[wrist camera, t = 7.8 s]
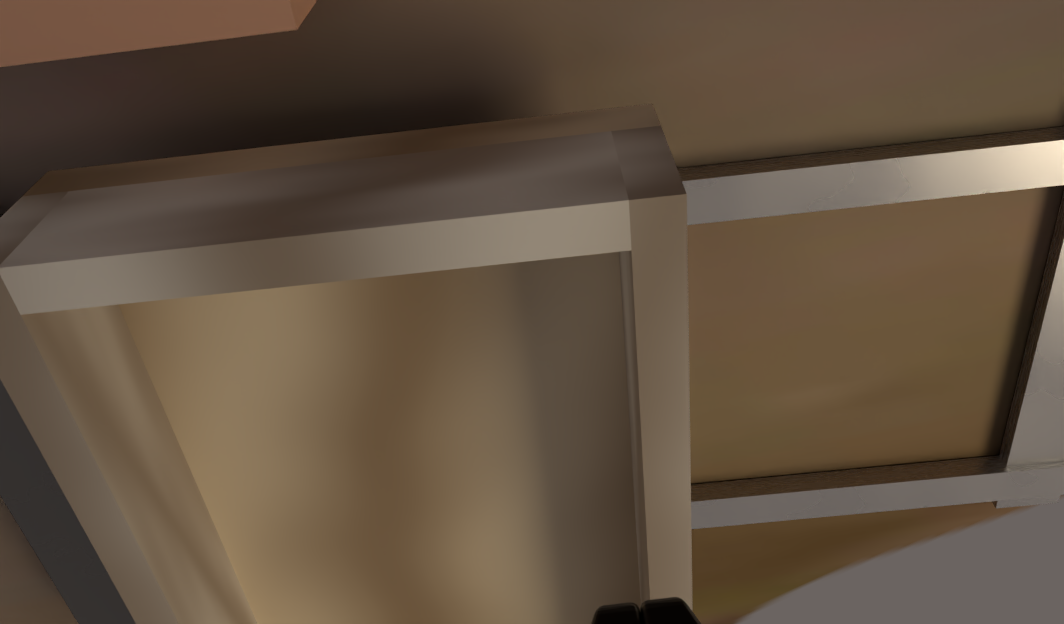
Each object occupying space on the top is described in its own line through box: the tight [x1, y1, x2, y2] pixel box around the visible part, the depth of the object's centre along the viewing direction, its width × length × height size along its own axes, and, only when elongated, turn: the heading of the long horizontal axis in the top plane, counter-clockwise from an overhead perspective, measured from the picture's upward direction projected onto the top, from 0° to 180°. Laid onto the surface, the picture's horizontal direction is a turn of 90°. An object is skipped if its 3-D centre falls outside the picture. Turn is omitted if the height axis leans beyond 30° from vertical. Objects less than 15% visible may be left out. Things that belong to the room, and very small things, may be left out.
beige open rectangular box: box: [0, 104, 692, 624], centre depth 19 cm, size 11×15×5 cm
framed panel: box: [0, 127, 1064, 624], centre depth 20 cm, size 28×12×2 cm, turn 96°
